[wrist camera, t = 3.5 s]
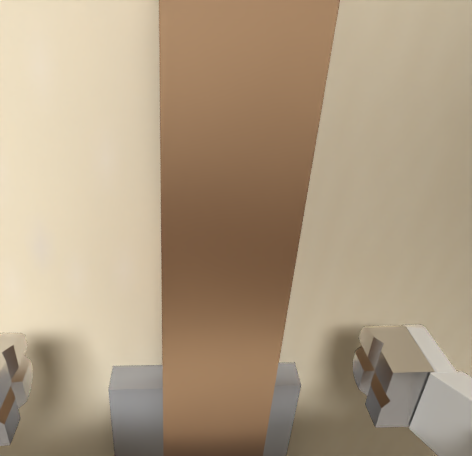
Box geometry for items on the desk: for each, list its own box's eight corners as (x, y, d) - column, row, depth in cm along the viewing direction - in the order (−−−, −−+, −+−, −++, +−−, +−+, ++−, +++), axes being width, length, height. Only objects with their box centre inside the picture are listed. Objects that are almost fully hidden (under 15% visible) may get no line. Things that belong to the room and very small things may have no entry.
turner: (62, -235, 7) (-50, -425, 4) (400, -187, 8) (559, -313, 5) (125, 504, 18) (110, 629, 15) (268, 496, 19) (286, 613, 15)
